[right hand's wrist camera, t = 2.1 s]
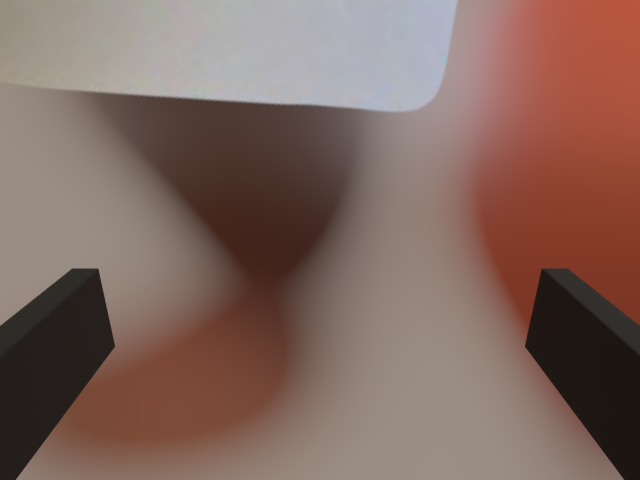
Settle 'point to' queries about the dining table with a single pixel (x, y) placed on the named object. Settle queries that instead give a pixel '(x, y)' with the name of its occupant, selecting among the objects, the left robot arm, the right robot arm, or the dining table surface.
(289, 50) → the dining table surface
